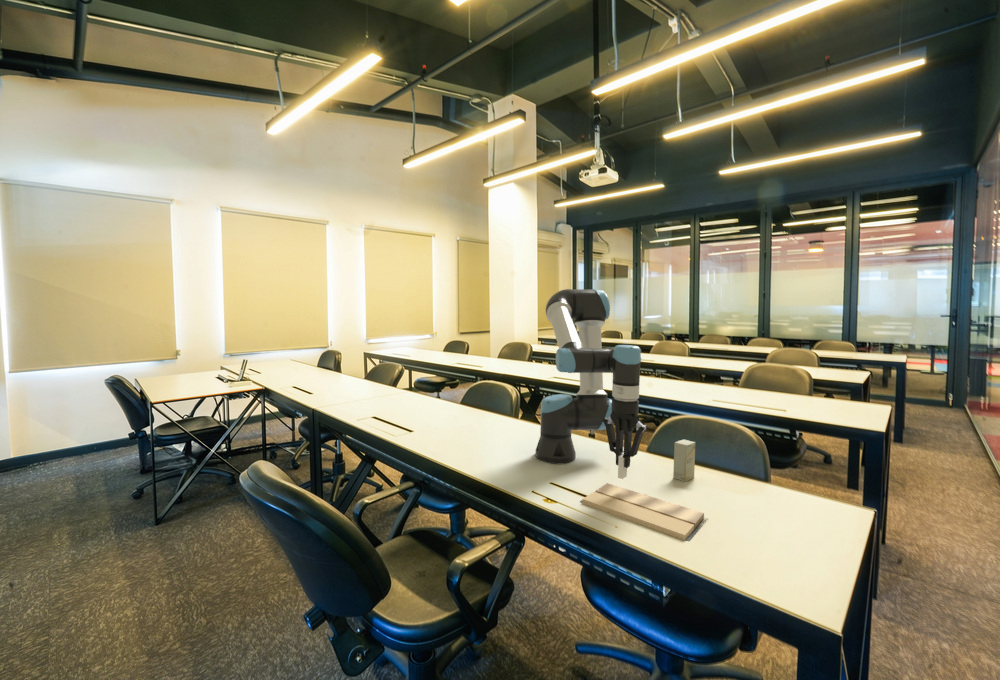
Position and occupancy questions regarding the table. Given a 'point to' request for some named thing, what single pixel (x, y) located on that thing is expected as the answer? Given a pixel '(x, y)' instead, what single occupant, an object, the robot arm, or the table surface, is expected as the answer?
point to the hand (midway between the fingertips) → (622, 476)
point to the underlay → (642, 516)
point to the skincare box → (684, 460)
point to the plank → (652, 504)
